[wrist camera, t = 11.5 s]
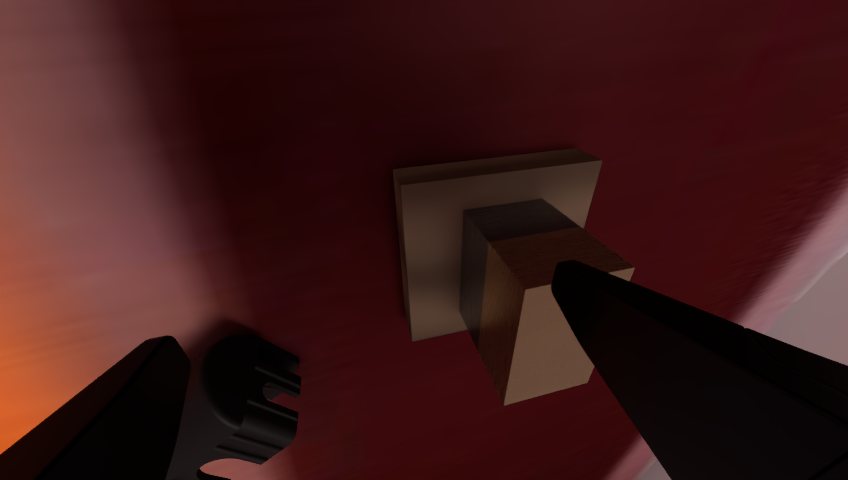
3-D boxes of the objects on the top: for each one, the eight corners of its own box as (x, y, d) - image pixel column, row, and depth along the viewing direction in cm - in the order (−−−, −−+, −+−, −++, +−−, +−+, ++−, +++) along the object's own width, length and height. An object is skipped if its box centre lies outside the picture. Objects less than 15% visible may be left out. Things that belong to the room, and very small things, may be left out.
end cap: (223, 310, 21) (183, 410, 15) (307, 355, 25) (300, 446, 19) (124, 392, 22) (55, 510, 17) (218, 421, 26) (188, 525, 21)
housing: (459, 311, 22) (503, 405, 17) (463, 210, 18) (525, 289, 12) (523, 297, 23) (587, 382, 17) (542, 198, 19) (635, 267, 13)
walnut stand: (392, 169, 18) (400, 185, 16) (575, 148, 21) (602, 160, 19) (405, 316, 25) (412, 341, 23) (543, 288, 27) (560, 308, 25)
